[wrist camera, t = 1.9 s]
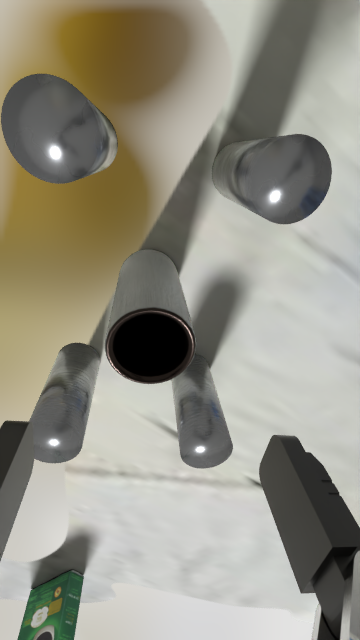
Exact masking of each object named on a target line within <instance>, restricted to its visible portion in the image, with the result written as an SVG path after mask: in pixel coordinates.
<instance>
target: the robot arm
mask: <svg viewBox="0 0 360 640" xmlns="http://www.w3.org/2000/svg"><path fill="white" fill-rule="evenodd" d="M33 462H34V436H33V423H32V422H25V421H24V422H23V421H5V422H4V423H3V425H2V426H1V428H0V561H1V558H2V555H3V552H4V549H5V546H6V543H7V541H8V538H9V535H10V532H11V529H12V527H13V524H14V521H15V518H16V516H17V513H18V510H19V507H20V504H21V501H22V499H23V496H24V493H25V490H26V487H27V485H28V482H29V479H30V476H31V473H32V468H33ZM259 475H260V481H261V484H262V487H263V490H264V493H265V495H266V498H267V501H268V504H269V506H270V509H271V512H272V515H273V517H274V520H275V523H276V526H277V529H278V531H279V534H280V537H281V540H282V542H283V545H284V548H285V551H286V553H287V556H288V559H289V562H290V564H291V567H292V570H293V573H294V575H295V578H296V581H297V584H298V587H299V589H300V592H301V593H316V596H317V598H318V601H319V604H318V606H317V609H316V614H315V620H314V627H313V633H312V640H360V528H359V526H358V524H357V522H356V521H355V519H354V517H353V516H352V514H351V512H350V510H349V509H348V507H347V505H346V504H345V502H344V500H343V499H342V497H341V496H339V492H338V490H337V488H336V487H335V485H334V483H332V480H331V478H330V476H329V475H328V473H327V471H326V469H325V468H324V466H323V465H322V464H321V463H320V462H319V461H318V460H317V459H316V458H315V457H314V456H313V455H312V454H311V453H309V452H305V450H304V448H303V446H302V445H301V443H300V441H299V439H298V438H297V437H295V436H284V435H273V436H272V437H271V439H270V442H269V444H268V447H267V449H266V451H265V454H264V456H263V458H262V461H261V463H260V468H259Z"/></svg>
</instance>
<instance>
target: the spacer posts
mask: <svg viewBox="0 0 360 640" xmlns="http://www.w3.org/2000/svg"><path fill="white" fill-rule="evenodd" d="M1 124H2V131H3V135H4V138H5V141H6V143H7V146H8V148H9V150H10V152H11V153H12V155H13V156H14V158H15V159H16V160H17V162H18V163H19V164H20V165H21V166H22V167H23V168H24V169H25V170H26V171H28V172H29V173H30V174H32V175H33V176H35V177H37V178H39V179H41V180H44V181H46V182H51V183H58V184H59V183H69V182H72V181H75V180H78V179H80V178H83V177H86V176H88V175H91V174H94V173H96V172H99V171H102V170H104V169H105V168H107V167H108V166H109V165H110V164H111V163H112V161H113V160H114V158H115V156H116V152H117V147H118V143H117V136H116V132H115V129H114V127H113V125H112V124H111V122H110V121H109V119H108V118H107V117H106V116H105V115H104V114H103V113H102V112H101V111H100V110H99V109H98V108H97V107H96V106H94V105H93V104H92V103H91V102H90V101H89V100H88V99H87V98H86V97H85V96H84V95H83V94H82V93H81V92H80V91H79V90H78V89H77V88H75V87H74V86H73V85H72V84H70V83H69V82H67V81H66V80H64V79H62V78H59V77H56V76H53V75H49V74H34V75H30V76H27V77H24V78H23V79H21V80H19V81H18V82H17V83H15V84H14V85H13V87H12V88H11V89H10V90H9V92H8V93H7V95H6V97H5V100H4V103H3V106H2V113H1ZM331 174H332V168H331V161H330V158H329V155H328V153H327V151H326V149H325V148H324V146H323V145H322V144H321V143H320V142H319V141H318V140H316V139H315V138H313V137H310V136H307V135H302V134H294V135H286V136H279V137H271V138H264V139H256V140H248V141H241V142H234V143H231V144H229V145H227V146H226V147H224V148H223V149H222V150H221V151H220V152H219V154H218V155H217V157H216V159H215V161H214V164H213V168H212V179H213V183H214V185H215V187H216V189H217V190H218V192H219V193H220V194H221V195H223V196H224V197H226V198H228V199H230V200H232V201H234V202H235V203H237V204H239V205H241V206H243V207H245V208H247V209H248V210H250V211H252V212H254V213H256V214H258V215H260V216H262V217H263V218H265V219H267V220H269V221H271V222H274V223H278V224H291V223H295V222H298V221H300V220H303V219H304V218H306V217H308V216H309V215H310V214H312V213H313V212H314V211H315V210H316V209H317V208H318V206H319V205H320V204H321V203H322V201H323V200H324V198H325V196H326V194H327V191H328V189H329V186H330V182H331ZM99 365H100V357H99V355H98V353H97V352H96V350H95V349H93V348H92V347H91V346H89V345H86V344H82V343H71V344H68V345H66V346H64V347H63V348H62V349H61V350H60V352H59V354H58V356H57V358H56V361H55V363H54V365H53V368H52V370H51V372H50V374H49V377H48V379H47V382H46V384H45V386H44V388H43V391H42V393H41V395H40V398H39V400H38V402H37V404H36V407H35V409H34V411H33V414H32V416H31V418H30V421H29V422H32V423H33V436H34V459H36V460H39V461H42V462H47V463H61V462H66V461H69V460H71V459H73V458H74V457H76V456H77V455H78V454H79V452H80V451H81V448H82V444H83V439H84V435H85V430H86V425H87V421H88V416H89V411H90V407H91V402H92V397H93V393H94V388H95V384H96V379H97V374H98V370H99ZM172 387H173V396H174V404H175V413H176V421H177V430H178V438H179V447H180V455H181V458H182V460H183V461H184V462H185V463H186V464H187V465H189V466H191V467H195V468H210V467H214V466H217V465H219V464H221V463H223V462H224V461H225V460H227V459H228V457H229V456H230V455H231V453H232V450H233V445H232V441H231V438H230V435H229V431H228V428H227V425H226V421H225V418H224V415H223V411H222V408H221V405H220V401H219V398H218V395H217V391H216V388H215V385H214V381H213V378H212V375H211V372H210V368H209V365H208V362H207V361H206V360H205V359H204V358H203V357H201V356H199V355H194V357H193V360H192V361H191V363H190V365H189V366H188V367H187V368H186V369H185V370H184V371H183V372H182V373H181V374H180V375H178V376H177V377H175V378H173V379H172Z"/></svg>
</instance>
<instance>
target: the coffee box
mask: <svg viewBox="0 0 360 640" xmlns="http://www.w3.org/2000/svg"><path fill="white" fill-rule="evenodd" d="M83 579H84V576H83V575H82V574H80V573H78V572H76V571H74V570H72V571H69V572H67V573H65V574H61V575H60V576H59V577H57V578H55V579H53V580H51V581H49V582H47V583H45V584H42V585H40V586H38V587H37V588H35V589H33V590H31V592H30V596H29V599H28V602H27V606H26V610H25V614H24V617H23V621H22V625H21V629H20V633H19V636H18V640H74V635H75V629H76V623H77V617H78V610H79V604H80V597H81V592H82V585H83Z"/></svg>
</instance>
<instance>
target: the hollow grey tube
mask: <svg viewBox="0 0 360 640" xmlns="http://www.w3.org/2000/svg"><path fill="white" fill-rule="evenodd" d="M195 351H196V338H195V334H194V330H193V326H192V323H191V319H190V315H189V312H188V308H187V305H186V301H185V297H184V294H183V290H182V286H181V283H180V279H179V276H178V272H177V269H176V267H175V265H174V263H173V262H172V260H171V259H170V258H169V257H168V256H167V255H165V254H164V253H162V252H160V251H157V250H151V249H146V250H140V251H137V252H135V253H134V254H132V255H130V256H129V257H128V258H127V259H126V260H125V262H124V263H123V265H122V267H121V270H120V273H119V278H118V283H117V287H116V292H115V297H114V302H113V306H112V311H111V316H110V320H109V325H108V330H107V335H106V340H105V352H106V356H107V358H108V361H109V363H110V364H111V366H112V367H113V368H114V369H115V370H116V371H117V372H118V373H119V374H120V375H122V376H123V377H125V378H127V379H129V380H131V381H134V382H138V383H144V384H156V383H162V382H165V381H168V380H171V379H173V378H175V377H177V376H178V375H180V374H181V373H182V372H183V371H184V370H185V369H186V368H187V367H188V366H189V365H190V363H191V361H192V360H193V357H194V355H195Z"/></svg>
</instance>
